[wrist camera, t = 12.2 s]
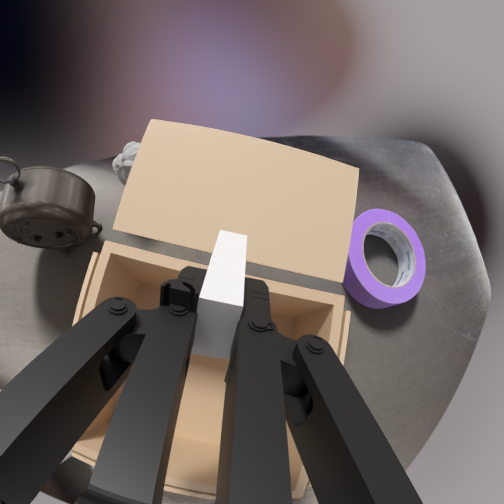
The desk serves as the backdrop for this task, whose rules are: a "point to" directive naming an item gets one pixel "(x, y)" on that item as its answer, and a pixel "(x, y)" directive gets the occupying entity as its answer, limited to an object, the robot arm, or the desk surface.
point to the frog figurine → (125, 161)
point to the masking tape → (405, 248)
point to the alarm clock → (46, 207)
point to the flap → (241, 197)
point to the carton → (200, 362)
